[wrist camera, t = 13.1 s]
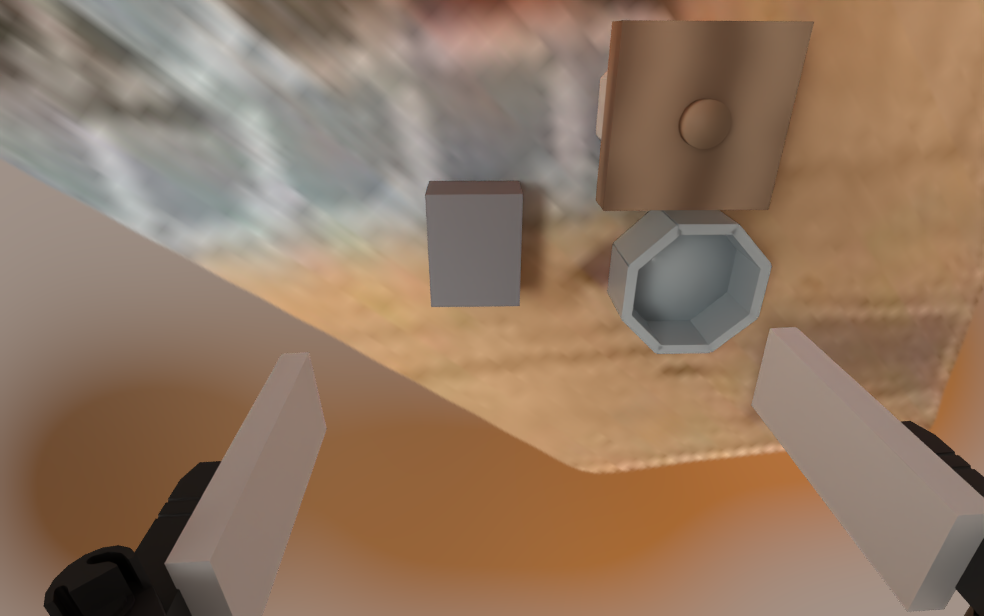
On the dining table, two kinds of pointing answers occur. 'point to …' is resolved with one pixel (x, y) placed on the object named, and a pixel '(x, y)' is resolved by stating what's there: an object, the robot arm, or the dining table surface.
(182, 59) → the dining table surface
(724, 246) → the grey bowl
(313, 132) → the dining table surface
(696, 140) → the lid
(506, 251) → the grey rectangular block
